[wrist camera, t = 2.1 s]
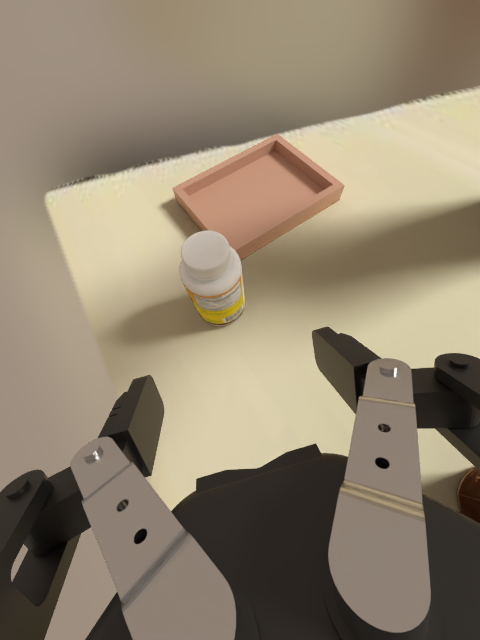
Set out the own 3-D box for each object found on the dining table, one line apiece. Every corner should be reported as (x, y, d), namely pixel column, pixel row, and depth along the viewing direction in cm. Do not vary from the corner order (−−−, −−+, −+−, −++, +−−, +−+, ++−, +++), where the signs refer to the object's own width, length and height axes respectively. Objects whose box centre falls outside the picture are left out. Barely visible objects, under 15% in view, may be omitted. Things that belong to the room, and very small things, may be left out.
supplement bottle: (205, 282, 31) (183, 218, 22) (250, 289, 30) (246, 226, 21) (191, 323, 29) (160, 271, 20) (239, 332, 28) (230, 283, 19)
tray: (276, 149, 40) (277, 133, 38) (339, 200, 35) (344, 185, 33) (177, 201, 37) (172, 188, 35) (231, 266, 32) (229, 254, 30)
